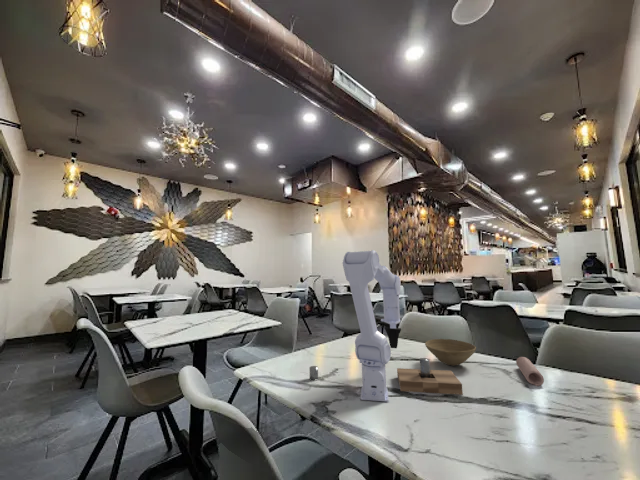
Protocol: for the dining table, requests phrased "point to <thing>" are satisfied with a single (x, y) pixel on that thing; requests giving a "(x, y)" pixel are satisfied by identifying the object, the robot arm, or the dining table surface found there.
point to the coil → (530, 371)
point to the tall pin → (424, 368)
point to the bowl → (450, 350)
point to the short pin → (313, 372)
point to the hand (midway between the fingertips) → (393, 345)
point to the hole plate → (429, 381)
